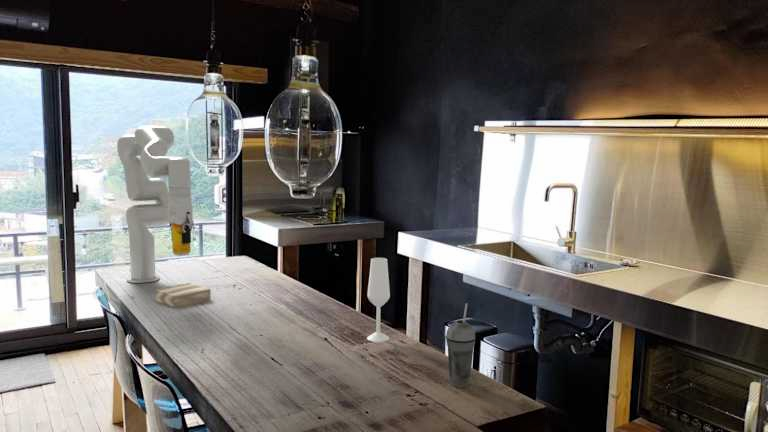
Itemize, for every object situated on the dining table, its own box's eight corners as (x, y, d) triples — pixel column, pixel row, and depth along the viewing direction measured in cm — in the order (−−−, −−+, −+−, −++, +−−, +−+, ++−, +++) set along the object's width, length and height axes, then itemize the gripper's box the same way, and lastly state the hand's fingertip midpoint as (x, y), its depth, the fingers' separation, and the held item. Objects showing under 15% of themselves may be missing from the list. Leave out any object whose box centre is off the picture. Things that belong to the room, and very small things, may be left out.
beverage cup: (441, 377, 143) (443, 299, 140) (470, 377, 143) (473, 299, 141) (447, 390, 136) (449, 307, 133) (477, 389, 136) (480, 307, 134)
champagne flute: (368, 342, 168) (369, 261, 165) (365, 335, 174) (366, 257, 171) (391, 341, 169) (392, 261, 166) (386, 333, 175) (388, 256, 172)
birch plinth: (155, 300, 209) (154, 289, 208) (189, 293, 220) (189, 283, 219) (175, 307, 200) (175, 296, 200) (210, 299, 211) (210, 289, 210)
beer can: (184, 256, 204) (183, 214, 202) (169, 255, 205) (168, 213, 204) (193, 253, 210) (192, 212, 208) (178, 252, 211) (177, 211, 209)
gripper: (157, 191, 208) (159, 240, 210) (183, 194, 197) (185, 246, 199) (176, 190, 213) (177, 238, 215) (202, 193, 202) (204, 243, 205)
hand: (181, 241), depth 207 cm, fingers closed on beer can, 6 cm apart
